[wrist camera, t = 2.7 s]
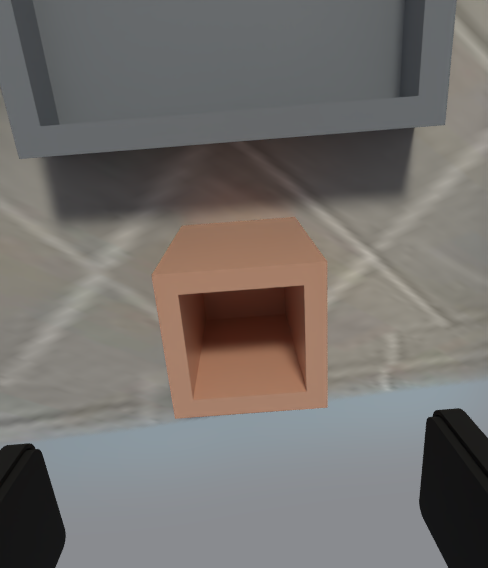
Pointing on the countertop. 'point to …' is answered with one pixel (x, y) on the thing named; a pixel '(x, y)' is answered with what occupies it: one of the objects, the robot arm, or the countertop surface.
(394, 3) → the tray
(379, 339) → the countertop surface
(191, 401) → the open square box
